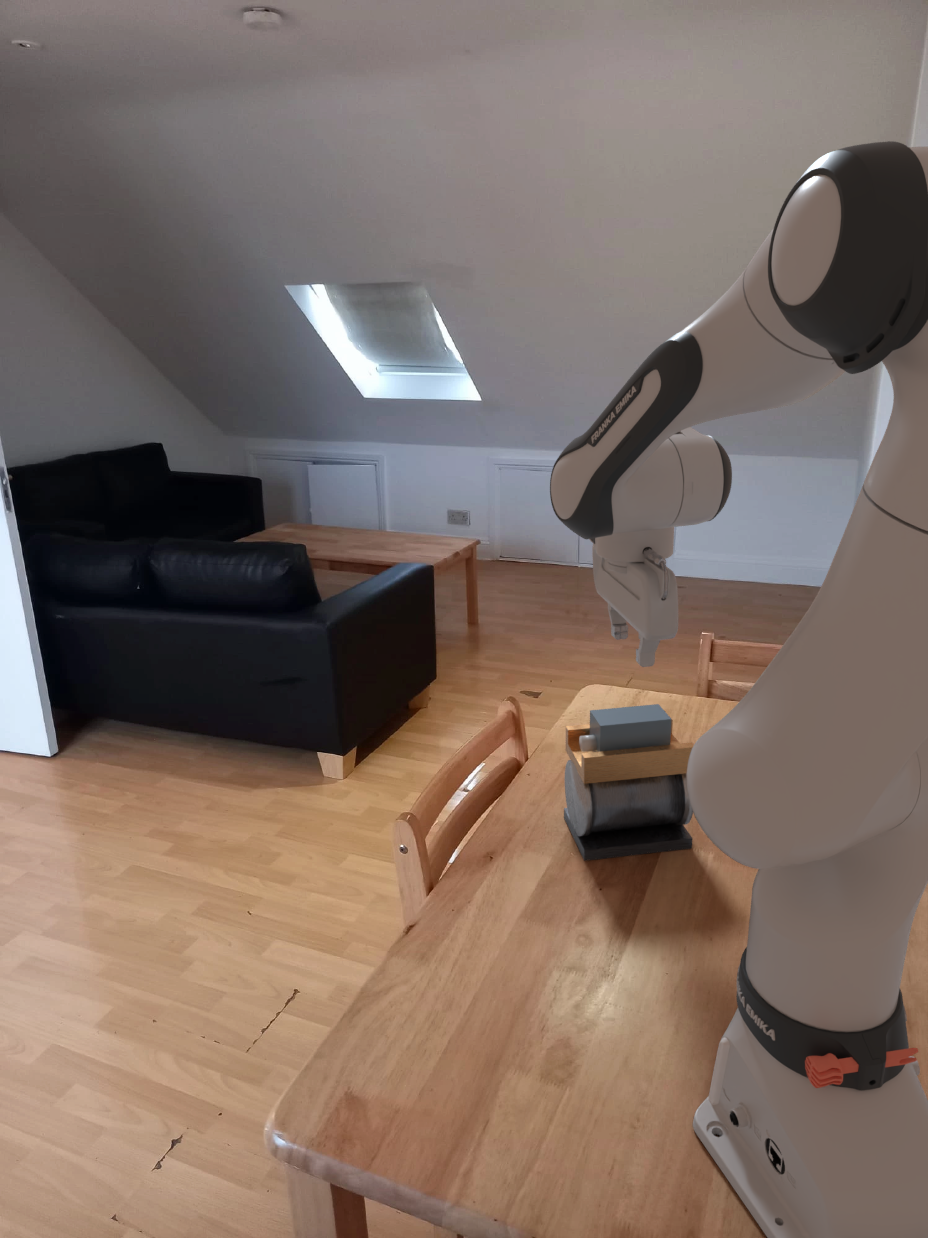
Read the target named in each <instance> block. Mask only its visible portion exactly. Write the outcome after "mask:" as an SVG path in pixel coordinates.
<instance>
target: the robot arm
mask: <svg viewBox="0 0 928 1238" xmlns="http://www.w3.org/2000/svg"><path fill="white" fill-rule="evenodd" d="M880 363H883V366H884V367H885V369H886V370H887V371H886V372H887V373H888V376H889V378H890V382H891V387H892V390H893V391H892V392H893V403H892V409H891V413H890V416H889V420H888V422H887V427H886V428H885V431H884V435H883V437H882V439H881V441H880V444H879V445H878V448H877V450H876V452H875V455H874V457H873V459H872V461H871V463H870V466H869V468H868V471H867V474H866V476H865V478H864V481H863V484H862V486H861V489H860V492H859V493H858V496H857V500H856V501H855V504H854V506H853V509H852V512H851V515H850V517H849V520H848V522H847V525H846V527H845V530H844V532H843V534H842V537H841V539H840V542H839V545H838V547H837V549H836V552H835V554H834V556H833V557H832V558H833V559H832V562H831V563H830V566H829V569H828V571H827V573H826V576H825V578H824V581H823V582H822V584H821V585H820V588H819V590H818V592H817V594H816V596H815V597H814V599H813V601H812V602H811V604H810V606H809V608H808V609H807V611H806V612H805V614H804V615H803V616H802V618H801V619H800V621H799V622H798V624H797V625H796V626H795V629H794V630H793V631H792V633H790V635H789V636H788V637H787V639H786V641H785V642H784V644H783V645H782V646H781V647H780V648H779V650H778V652H777V653H776V655H775V656H774V657H773V659H772V660H771V661H770V662H769V664H768V665H767V667H766V668H765V670H764V671H762V673H761V675H759V678H758V679H757V680H755V681H756V682H755V683H754V684H753V685H752V686H751V688H750V689H749V690H748V692H747V693H746V694H745V695H744V696H743V698H741V699H740V701H738V703H737V704H736V705H734V707H733V708H731V710H730V711H729V712H728V713H727V714H726V715H724V716H723V718H721V719H720V720H719V721H718V722H717V723H715V724H714V725H713V726H712V727H711V728H709V729H708V730H707V731H705V732H704V733H703V734H702V735H700V737H699V738H698V739H697V740H695V743H693V744H694V746H693V748H692V750H691V753H690V756H689V759H688V765H687V776H686V780H687V791H688V797H689V801H690V805H691V808H692V811H693V815H694V818H695V820H696V821H697V823H698V825H699V827H700V828H701V830H702V831H703V833H704V834H705V836H706V837H707V838H708V839H709V840H710V841H711V842H712V844H713V845H714V846H715V847H716V848H718V850H719V851H720V852H722V853H724V854H725V855H726V856H728V857H729V858H730V859H732V860H733V861H735V862H736V863H739V864H741V865H742V866H744V867H748V868H751V869H756V870H757V872H756V875H755V877H754V880H753V884H752V888H751V899H750V911H749V921H748V931H747V933H748V934H747V942H746V943H747V944H746V947H745V949H744V950H743V952H742V955H741V956H740V957H741V958H740V962H739V965H738V968H737V971H736V972H737V974H736V981H735V982H736V1005H737V1009H736V1010H735V1013H734V1015H733V1017H732V1019H731V1020H730V1022H729V1024H728V1026H727V1028H726V1030H725V1031H724V1032H723V1035H722V1036H721V1039H720V1040H719V1043H718V1048H717V1051H716V1058H715V1062H714V1067H713V1072H712V1077H711V1083H710V1088H709V1093H708V1096H707V1097H706V1098H705V1099H704V1100H703V1101H702V1102H701V1103H700V1105H699V1106H698V1107H697V1109H696V1111H695V1113H694V1117H693V1122H692V1128H693V1130H694V1132H695V1133H694V1134H696V1136H697V1137H698V1138H699V1140H700V1142H702V1144H703V1146H704V1147H705V1149H706V1150H707V1152H708V1153H709V1154H710V1156H711V1158H712V1159H713V1161H714V1162H715V1164H717V1166H718V1168H719V1169H720V1171H721V1172H722V1173H723V1175H724V1177H725V1178H726V1179H727V1181H728V1182H729V1184H730V1185H731V1187H732V1188H733V1190H734V1191H735V1192H736V1193H737V1195H738V1197H739V1198H740V1200H741V1201H742V1203H743V1204H744V1205H745V1207H746V1208H747V1210H748V1211H749V1213H750V1215H751V1216H752V1217H753V1219H754V1220H755V1222H756V1223H757V1224H758V1226H759V1227H760V1230H761V1231H762V1232H763V1233H764V1235H765V1236H766V1237H767V1238H928V1098H927V1095H926V1093H925V1090H924V1088H923V1086H922V1084H921V1081H920V1079H919V1075H920V1072H921V1068H920V1065H919V1061H918V1058H916V1057H915V1056H914V1055H915V1054H917V1053H919V1049H918V1048H917V1047H910V1046H909V1037H908V1030H907V1022H908V1020H907V1019H908V1018H907V1012H906V1011H907V1010H906V1007H905V1004H904V999H903V992H902V990H901V983H902V976H903V971H904V966H905V960H906V956H907V951H908V944H909V941H910V934H911V929H912V926H913V922H914V919H915V915H916V912H917V910H918V907H919V904H920V901H921V898H922V896H923V894H924V892H925V890H926V888H927V886H928V146H910V147H909V146H907V144H904V143H902V142H898V141H894V140H893V141H890V140H889V141H888V140H887V141H877V142H867V143H861V144H856V145H855V144H854V145H852V146H851V145H850V146H845V147H843V148H839V149H835V150H832V151H830V152H828V153H825V154H823V155H821V157H818V159H816V160H815V161H814V162H813V163H812V164H811V165H810V166H809V167H808V168H807V169H806V170H805V171H804V173H803V174H802V175H801V176H800V178H798V180H797V182H795V184H794V185H793V187H792V188H791V189H790V191H789V193H788V194H787V196H786V197H785V199H784V201H783V204H782V205H781V207H780V210H779V213H778V215H777V218H776V220H775V224H774V226H773V228H772V229H771V231H770V232H769V233H768V235H767V236H766V238H765V239H764V241H762V243H761V244H760V246H759V247H758V249H757V251H756V252H755V253H754V254H753V257H752V258H751V260H750V261H749V262H748V264H747V266H746V267H745V268H744V270H743V271H742V273H741V274H740V275H739V277H737V279H736V281H735V282H734V283H733V284H732V285H730V287H729V288H728V289H727V290H726V291H725V292H724V294H722V295H721V296H720V297H719V298H718V299H717V300H716V301H715V302H714V303H713V304H712V305H711V306H710V307H709V308H708V309H706V311H704V312H703V313H702V314H701V315H699V316H698V317H697V318H696V319H694V320H693V321H692V322H691V323H689V324H688V325H686V327H684V328H683V329H681V330H680V331H679V332H677V333H675V334H674V335H672V336H671V337H669V338H668V339H666V341H664V342H663V343H661V344H660V345H659V346H658V347H656V348H654V350H653V351H652V352H651V353H650V354H649V355H648V356H647V357H646V359H645V360H643V362H642V363H641V364H640V365H639V367H638V368H637V369H636V370H635V371H634V372H633V373H632V375H631V376H630V377H629V379H628V380H627V381H626V382H625V384H624V385H623V386H622V387H621V388H620V390H619V391H618V392H617V394H616V395H615V396H614V397H613V398H612V399H611V401H610V402H609V403H608V404H607V405H606V406H605V408H604V410H603V411H602V412H601V413H600V415H598V417H597V418H596V420H595V421H594V422H593V423H592V424H591V426H590V427H589V428H588V429H587V430H586V431H585V432H584V433H583V434H581V435H579V436H577V437H576V438H574V439H572V440H571V442H570V443H568V444H567V446H566V447H565V448H564V449H563V451H561V452H560V454H559V456H558V457H557V459H556V460H555V462H554V464H553V467H552V471H551V474H550V481H549V496H550V502H551V503H550V504H551V506H552V509H553V512H554V514H555V516H556V517H557V518H558V520H559V521H560V522H561V523H562V524H563V525H564V526H565V527H566V528H567V529H569V530H570V531H571V532H572V533H575V534H576V535H577V536H579V537H580V538H582V539H584V540H589V541H590V542H591V543H592V551H591V552H592V553H591V554H592V555H591V556H592V570H593V571H592V574H593V582H594V587H595V591H596V593H597V594H598V595H599V596H600V598H602V599H603V601H605V602H606V603H607V612H608V616H609V620H610V621H609V622H610V636H612V637H613V638H614V639H615V640H617V641H619V640H626V639H627V638H628V637H629V626H631V627H632V628H633V629H635V631H636V632H638V640H639V644H638V648H635V661H636V663H638V665H639V667H641V668H647V667H648V668H649V667H653V666H654V665H655V662H656V652H657V649H658V647H659V645H660V643H661V641H664V640H673V639H674V638H675V637H676V636H677V633H678V631H679V590H678V589H679V588H678V582H677V577H676V574H675V573H674V571H673V570H672V569H670V567H668V566H667V559H669V558H670V557H672V556H673V554H674V542H675V527H677V528H679V527H686V526H687V527H688V526H694V525H699V524H702V523H706V522H710V521H713V520H714V519H715V518H716V517H717V516H718V515H719V514H720V513H721V511H723V509H724V508H725V505H726V503H727V501H728V499H729V496H730V494H731V488H732V483H733V470H732V469H733V468H732V462H731V459H730V457H729V454H728V452H727V451H726V450H725V448H724V446H723V445H722V444H721V443H720V442H719V441H717V439H715V438H714V437H713V436H711V435H710V434H702V433H701V432H699V431H698V430H696V429H694V428H693V426H694V427H695V426H696V425H699V424H703V423H706V422H711V421H715V420H718V419H723V418H729V417H733V416H739V415H745V414H750V413H755V412H761V411H767V410H774V409H779V408H783V407H789V406H792V405H794V404H797V403H801V402H804V401H805V400H807V399H809V398H811V397H812V396H813V395H815V394H817V393H818V392H820V391H821V390H823V389H825V388H826V387H827V386H829V385H830V384H832V383H833V382H834V381H836V380H837V379H838V378H840V377H841V376H842V375H843V374H845V373H847V374H850V375H855V374H859V373H862V372H863V373H864V372H865V371H868V370H870V369H871V368H873V367H875V366H877V365H878V364H880ZM627 623H628V624H629V625H628V624H627ZM909 1047H910V1048H909ZM716 1135H717V1136H716Z"/></svg>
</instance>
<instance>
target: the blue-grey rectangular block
mask: <svg viewBox="0 0 928 1238" xmlns="http://www.w3.org/2000/svg"><path fill="white" fill-rule="evenodd" d="M669 716H670V715H669V714H668V713H667V712H666V711H665V710H664V709H663V708H662V706H661V705H660V704H658V703H656V704H654V703H653V704H645V705H644V704H643V705H635V706H634V705H633V706H625V707H614V708H612V707H611V708H603V709H602V708H601V709H591V710H589V724H590V735H585V736H580V738H579V745H580V749H581V751H582V752H588V751H593V752H601V751H611V750H621V749H631V748H641V747H651V746H661V745H670V740H671V720H673V718H672V717H669Z"/></svg>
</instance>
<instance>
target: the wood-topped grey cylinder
mask: <svg viewBox="0 0 928 1238" xmlns="http://www.w3.org/2000/svg"><path fill="white" fill-rule="evenodd" d="M668 716H669V717H670V715H668ZM670 718H671V717H670ZM673 720H674V719H672V720H671V740H670V745H661V746H651V747H641V748H631V749H621V750H611V751H601V752H593V751H588V752H582V751H581V749H580V745H579V738H580V736H585V735H590V723H584V724H573V725H565V752H566V754H567V756H568V758H569V760H567V761H566V764H565V767H564V768H565V769H564V794H565V802H566V807H564V809H563V818H564V821H565V823H566V825H567V827H568V829H569V831H570V832H569V833H570V834H571V836H572V838H573V840H574V842H575V844H576V846H577V848H578V851H579V853H580V855H581V857H582V859H583V861H585V862H587V861H596V860H603V859H604V860H605V859H612V858H620V857H627V856H628V857H630V856H638V855H645V854H646V855H647V854H655V853H663V852H664V853H665V852H673V851H681V850H689V849H690V850H691V849H692V848H693V837H692V835H691V834H690V832H689V831H688V830H687V829H686V827H685V825H688V824H689V823H690V822H691V820H692V818H693V815H694V813H693V811H692V808H691V805H690V801H689V797H688V791H687V780H686V776H687V765H688V759H689V756H690V753H691V750H692V748H693V746H694V744H695V743H693V742H684V743H683V742H682V743H681V742H679V741H678V739H677V738H676V737H675V735H673V727H674V725H673V723H674V721H673Z"/></svg>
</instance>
